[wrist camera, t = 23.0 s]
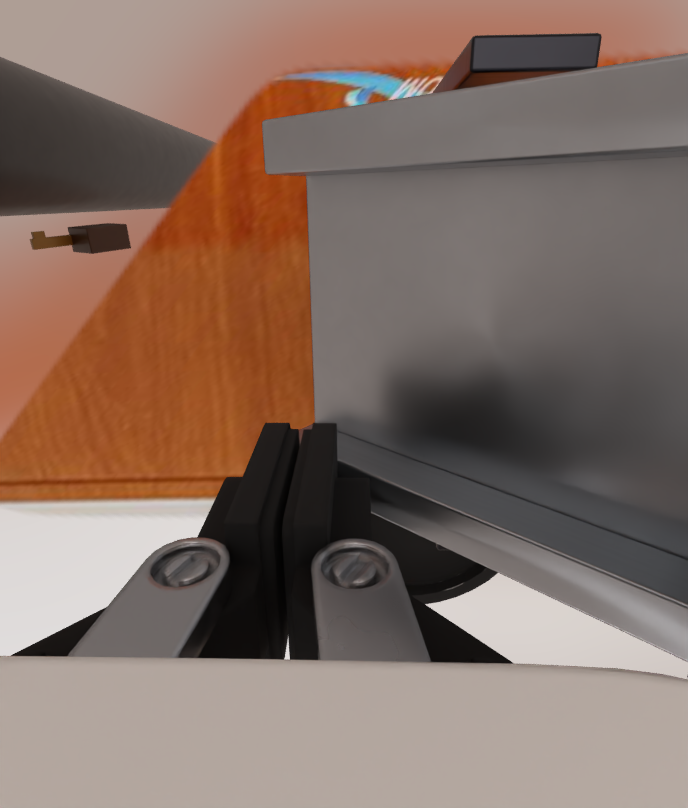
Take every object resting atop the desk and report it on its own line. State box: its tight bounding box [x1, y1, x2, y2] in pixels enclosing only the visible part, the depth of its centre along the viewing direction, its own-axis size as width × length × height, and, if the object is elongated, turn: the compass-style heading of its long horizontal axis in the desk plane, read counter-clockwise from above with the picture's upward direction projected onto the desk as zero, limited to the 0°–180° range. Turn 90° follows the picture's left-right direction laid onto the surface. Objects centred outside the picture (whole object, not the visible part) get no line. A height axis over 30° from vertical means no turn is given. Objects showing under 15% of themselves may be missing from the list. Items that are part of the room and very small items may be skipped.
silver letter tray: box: [262, 53, 688, 677], centre depth 9 cm, size 10×8×2 cm
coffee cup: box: [371, 513, 498, 604], centre depth 27 cm, size 8×8×15 cm
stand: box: [432, 33, 601, 550], centre depth 20 cm, size 6×10×22 cm, turn 1°
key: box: [30, 223, 131, 254], centre depth 46 cm, size 8×2×3 cm
